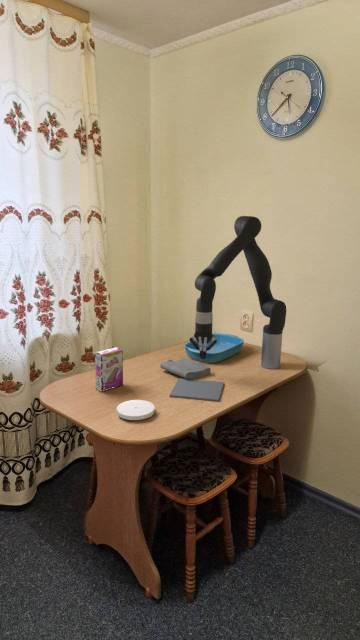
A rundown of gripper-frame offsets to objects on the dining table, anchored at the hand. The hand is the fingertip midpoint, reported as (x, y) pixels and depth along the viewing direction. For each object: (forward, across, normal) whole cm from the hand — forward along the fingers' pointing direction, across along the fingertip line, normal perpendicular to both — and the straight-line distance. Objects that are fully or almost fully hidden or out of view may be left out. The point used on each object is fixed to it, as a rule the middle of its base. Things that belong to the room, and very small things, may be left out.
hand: (202, 358), depth 195 cm
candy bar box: (+10, +37, +20) cm, 43 cm away
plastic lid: (+10, +18, +41) cm, 46 cm away
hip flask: (+7, +2, +1) cm, 7 cm away
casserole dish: (+10, -1, -34) cm, 36 cm away
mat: (+9, 0, +14) cm, 17 cm away
